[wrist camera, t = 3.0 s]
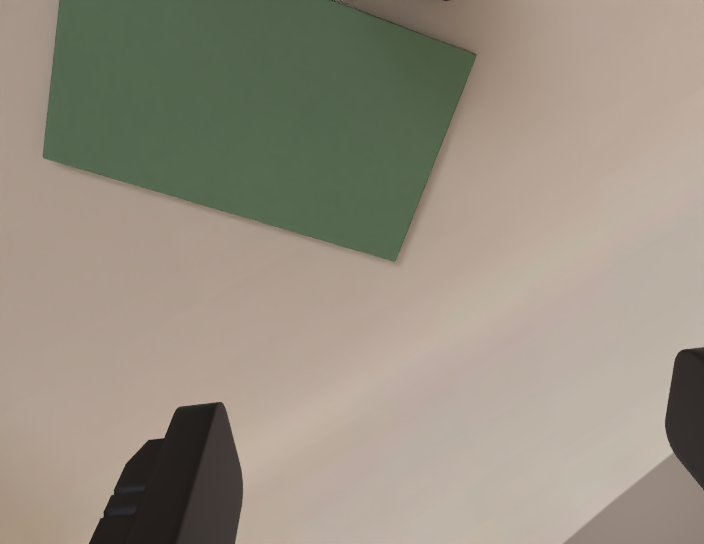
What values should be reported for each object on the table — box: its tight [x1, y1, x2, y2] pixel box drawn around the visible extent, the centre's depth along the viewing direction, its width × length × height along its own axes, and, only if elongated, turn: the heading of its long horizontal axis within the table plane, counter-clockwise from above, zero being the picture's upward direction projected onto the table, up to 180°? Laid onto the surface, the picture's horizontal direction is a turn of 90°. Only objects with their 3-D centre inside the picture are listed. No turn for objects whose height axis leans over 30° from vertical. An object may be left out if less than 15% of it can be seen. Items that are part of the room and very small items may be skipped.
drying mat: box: [43, 0, 476, 261], centre depth 28 cm, size 20×12×1 cm, turn 72°
